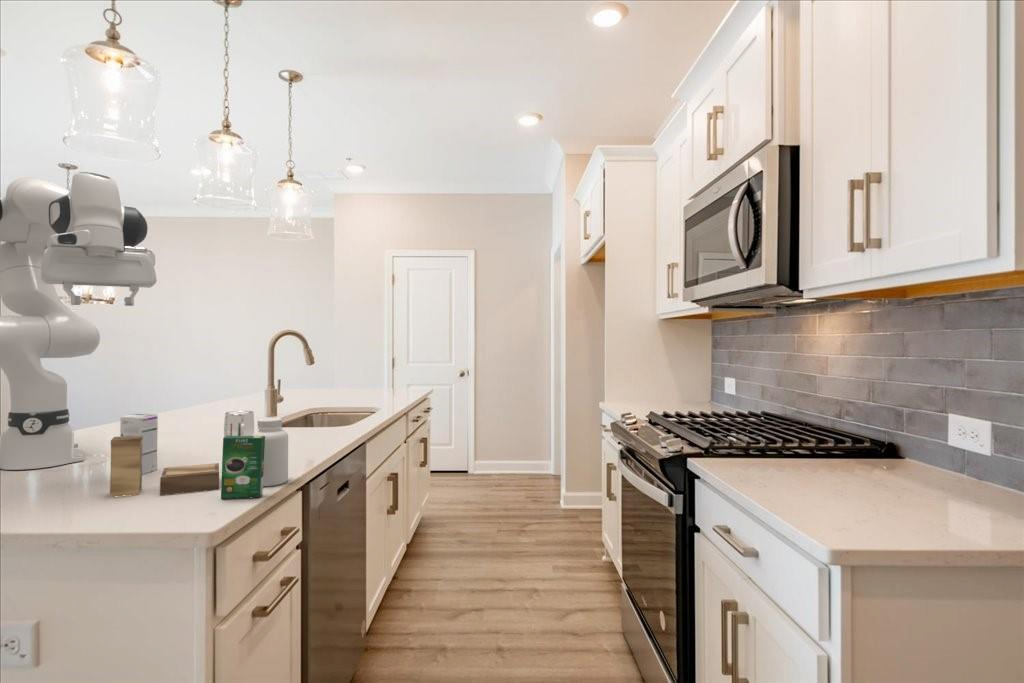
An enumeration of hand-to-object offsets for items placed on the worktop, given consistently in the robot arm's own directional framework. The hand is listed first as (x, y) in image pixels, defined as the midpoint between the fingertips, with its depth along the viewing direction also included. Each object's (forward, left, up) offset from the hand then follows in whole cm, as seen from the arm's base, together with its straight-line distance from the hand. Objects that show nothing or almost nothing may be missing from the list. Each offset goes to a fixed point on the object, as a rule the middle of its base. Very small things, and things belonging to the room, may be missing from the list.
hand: (103, 305), depth 116 cm
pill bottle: (+9, +33, -41) cm, 54 cm away
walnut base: (+5, +17, -41) cm, 45 cm away
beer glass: (-7, +27, -41) cm, 50 cm away
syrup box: (-16, +5, -41) cm, 44 cm away
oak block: (+5, +5, -41) cm, 42 cm away
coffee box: (+19, +27, -41) cm, 53 cm away
